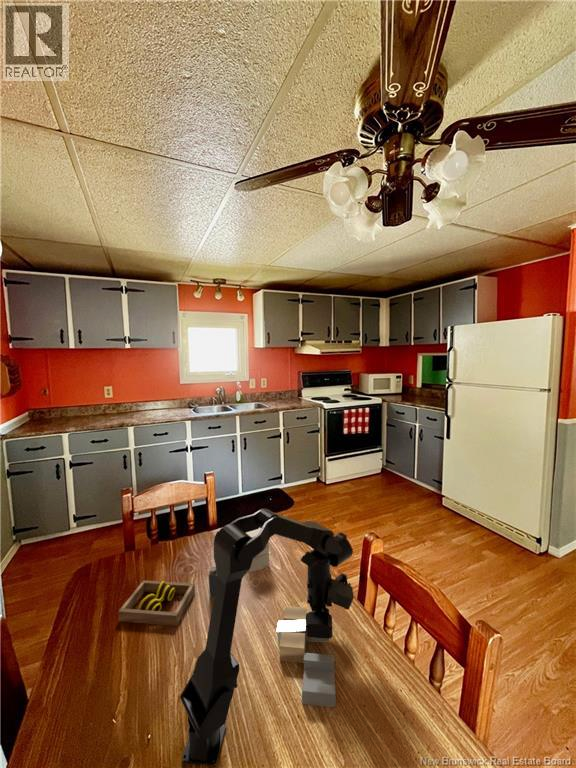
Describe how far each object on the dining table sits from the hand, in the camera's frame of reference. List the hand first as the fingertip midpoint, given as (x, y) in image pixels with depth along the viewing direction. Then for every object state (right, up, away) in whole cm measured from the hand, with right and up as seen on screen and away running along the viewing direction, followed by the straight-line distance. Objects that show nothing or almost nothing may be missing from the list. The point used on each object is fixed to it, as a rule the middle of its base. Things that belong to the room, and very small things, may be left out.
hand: (319, 631), depth 78 cm
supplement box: (-19, -1, +30) cm, 36 cm away
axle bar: (-4, -2, +1) cm, 4 cm away
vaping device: (-30, -2, +17) cm, 34 cm away
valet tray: (-46, -3, +12) cm, 48 cm away
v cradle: (-1, -4, -10) cm, 11 cm away
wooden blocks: (-6, -3, +1) cm, 7 cm away
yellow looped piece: (-46, -3, +12) cm, 48 cm away
